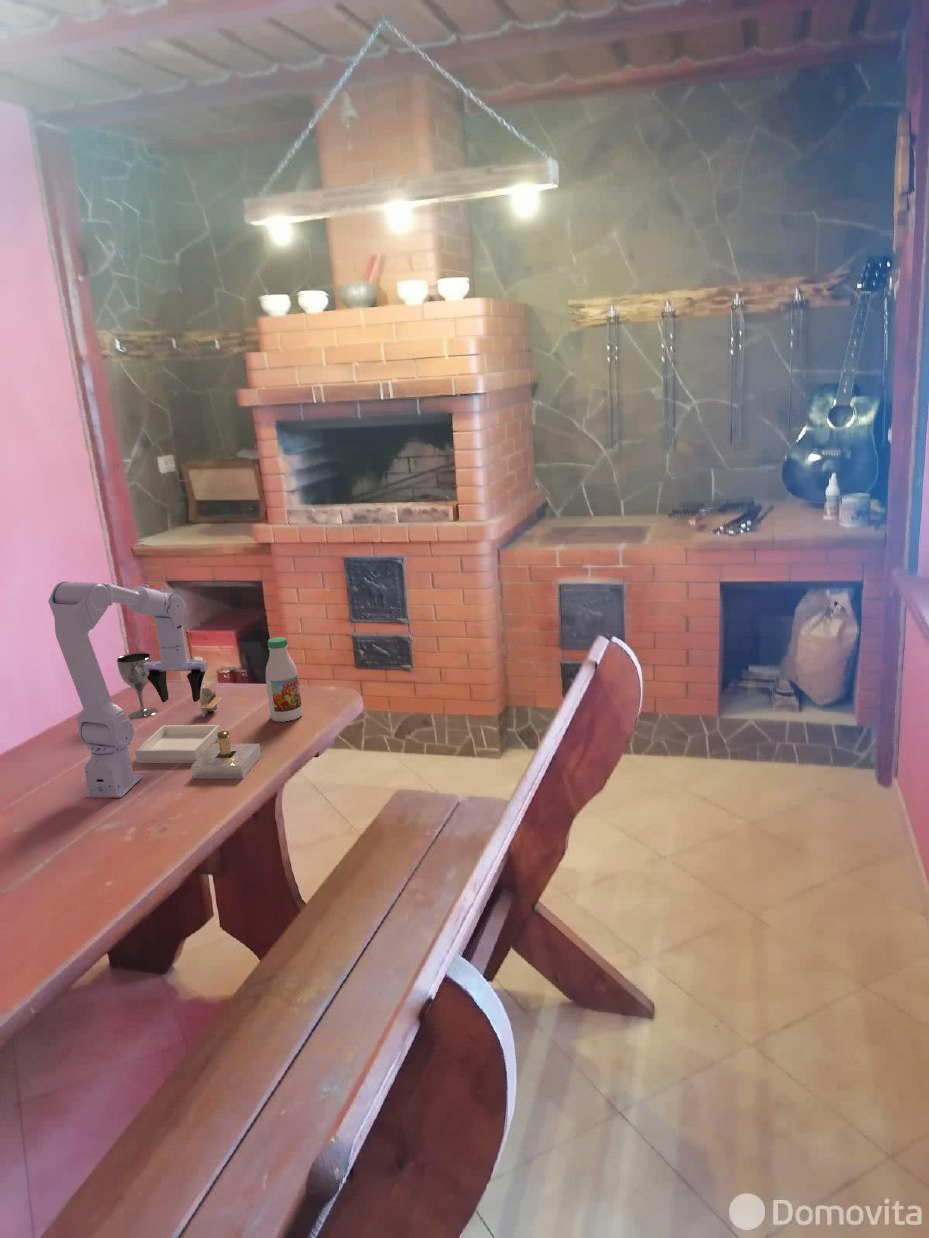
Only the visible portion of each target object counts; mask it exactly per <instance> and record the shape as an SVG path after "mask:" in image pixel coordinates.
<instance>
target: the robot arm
mask: <svg viewBox="0 0 929 1238" xmlns="http://www.w3.org/2000/svg"><path fill="white" fill-rule="evenodd" d="M47 601H48V604H49V607H50V609H51V613H52V615H53V618H54V632H55V634H54V635H55V636H56V640H57V642H58V644H59V649H60V650H61V653H62V655H63V658H64V661H65V663H66V666H67V669H68V672H69V674H70V677H71V679H72V682H73V685H74V687H75V690H76V693H77V696H78V698H79V700H80V703H81V706H82V710H81V711H80V712H79V714H77V716H76V720H77V724H78V725H77V726H78V736H79V739H80V741H81V742H82V743H83V744H85V745H87V749H88V750H89V751H90V758H89V760H88V761H87V763H85V766H84V774H85V779H86V784H87V790H88V792H87V793H86V794H85V797H86V798H122V797H123V796H125V795H126V793H128V792H129V791H130V790H131V789H132V788H133V787H134V786H135V785H136V784H137V783H138V782H139V781H140V780H141V779H142V778H143V775H142V774H134V770H133V766H132V761H131V760H132V759H131V753H130V749H129V746H130V745H131V742H132V741H133V738H134V734H135V727H134V723H133V722H132V720H131V718H130V717H129V716H127V715H126V712H125V710H124V709H123V708H122V707H121V706H119V705H117V704H116V703H115V702H114V701H112V697H111V695H110V692H109V690H108V687H107V684H106V681H105V678H104V675H103V673H102V671H101V668H100V664H99V661H98V659H97V657H96V654H95V650H94V648H93V645H92V643H91V640H90V637H89V633H90V631H91V630H93V629H95V627H96V626H97V624H98V623H99V621H100V620H101V618H102V617H103V616H104V615H105V613H106V611H107V609H108V608H109V606H112V605H113V603H114V604H120V605H121V604H122V605H125V606H127V607H128V609H129V611H131V612H132V613H136V614H142V615H146V616H149V617H150V618H151V619H154V623H155V628H156V629H155V630H156V634H157V635H156V637H157V641H158V642H157V643H158V648H159V655H160V660H156V661H155V660H154V661H151V662H146V663H145V664H144V665H143V667H144V672H145V673H148V672H149V675H148V676H147V678H148V682H150V683H151V685H152V686H153V688H154V689H155V690H156V692H157V694H158V696H159V697H160V700H161V702H162V703H166V702H167V701H169V691H168V684H167V683H168V682H167V672H189V673H188V674H186V677H187V680H188V682H189V686H190V690H191V696H192V700H193V703H197V702H198V701H200V691H201V688H202V684H203V680H204V678H205V674H206V672H207V670H209V665H208V661H207V660H200V659H199V660H198V659H191V658H190V659H189V658H188V652H187V645H186V638H185V632H184V626H183V624H184V623H185V612H186V604H187V603H186V601H184V599H183V597H182V596H180V594H178V593H176V592H165V591H164V589H163V588H156V589H154V588H150V585H149V584H142V583H141V584H139V585H138V586H137V585H136V586H134V587H132V589H129V588H125V587H123V586H118V585H117V584H112V583H108V582H89V581H88V582H81V581H80V582H79V581H77V582H70V581H60V582H58V583H56V585H55V586H54V588H53V590H52V592H51V594H50V596H49V599H48V600H47Z"/></svg>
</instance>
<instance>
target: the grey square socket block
mask: <svg viewBox="0 0 929 1238" xmlns="http://www.w3.org/2000/svg"><path fill="white" fill-rule="evenodd" d="M230 744H231V751H232V758H221V755H220V749H219V743H215V744H211V745H210V747H209V748H208V749H207V750H206V751H205V752H204V753H203V754H202V755H201V756H200V757H199V758H198V759H197V760H196V761H195V762H194V763H191V772H192V773H191V774H192V777H193V779H194V780H195V779H199V780H201V779H203V780H205V779H206V780H207V779H210V780H213V779H214V780H215V779H216V780H218V779H220V780H221V779H222V780H223V779H225V780H226V779H227V780H228V779H233V780H239V779H240V780H243V779H244V778H245V777H246V776H247V775H246V774H248V773H249V772H250V771H251V770H250V769H252V768H253V767H254V766H255V765H256V764H257V762H258V761H259V759H260V758H261V757H262V753H261V746H260V745H261V744H260V743H230ZM260 756H261V757H260ZM257 760H258V761H257ZM254 764H255V765H254ZM249 770H250V771H249Z"/></svg>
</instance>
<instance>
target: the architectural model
mask: <svg viewBox="0 0 929 1238" xmlns="http://www.w3.org/2000/svg"><path fill="white" fill-rule="evenodd" d="M222 698H223V697H222V696H217V694H216V692H213V690H212V689H211V688H210V687H208V683H205V684H204V685H203V686H201V691H200V699H199V702H200V709H201V715H202V716H201V717H202V718H204V717H206V715H207V714H208V713H209V712H215V711H216V710H217V709H218V703H219V702H220V700H222Z"/></svg>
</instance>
